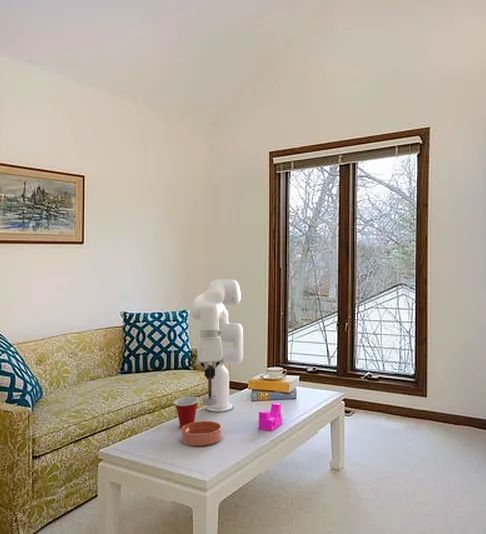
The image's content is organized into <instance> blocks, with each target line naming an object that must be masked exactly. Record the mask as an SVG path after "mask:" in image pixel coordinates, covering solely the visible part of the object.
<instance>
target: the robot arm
mask: <svg viewBox="0 0 486 534" xmlns="http://www.w3.org/2000/svg"><path fill="white" fill-rule="evenodd" d="M240 289H241V288H240V285H239V283H238V282H237V280H235V279H220V278H219V279H213V280H212V281H210V283H209V284H208V287H207V290H206V291H205V292H203V293H201V294H198V295H197V296H196V297H194V299H193V301H192V304H191V309H190V312H191V313H190V314H191V317H192V319H194V320H197V321H199V322H200V328H199V329H200V334H199V335H200V336H199V337H198V338H197V346H196V347H197V348H196V350H197V351H196V360H195V361H194V362H195V365H198V366H201V367H202V368H203V369H204V377H205V378H206V380H208V379H209V369H208V365H211V366H212V395H215V396H217V404H216V405H211V406H207V405H206V410H207V411H209V412H213V413H214V412H215V413H220V412H227V411H231V409H233V404H232V403H230V373H229V370H228V369H227V367H226V366H225V365H239V364H241V363H242V362H243V360H244V329H243V325H242V324H240V323H238V322H229V312H228V310H227V309H226V306H235V305H239V304H240V302H241V295H242V294H241V290H240ZM222 343H232V344H222Z"/></svg>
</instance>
